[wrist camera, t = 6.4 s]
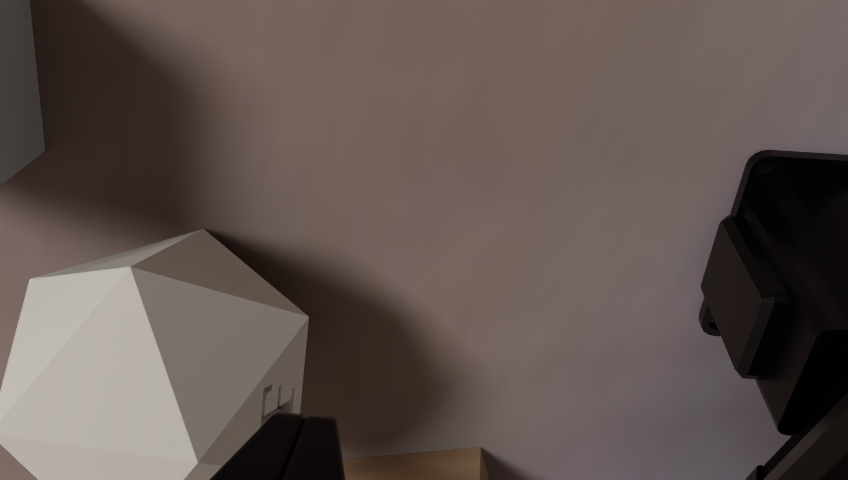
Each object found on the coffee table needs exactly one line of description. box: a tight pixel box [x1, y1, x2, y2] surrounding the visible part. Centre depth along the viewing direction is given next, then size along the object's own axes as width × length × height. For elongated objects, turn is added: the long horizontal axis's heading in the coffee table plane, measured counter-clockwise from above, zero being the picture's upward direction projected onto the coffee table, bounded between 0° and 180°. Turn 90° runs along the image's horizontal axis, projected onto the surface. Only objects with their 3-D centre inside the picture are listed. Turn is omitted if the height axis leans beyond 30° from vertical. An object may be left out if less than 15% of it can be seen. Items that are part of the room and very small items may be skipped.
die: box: [0, 229, 309, 480], centre depth 21 cm, size 8×9×10 cm
